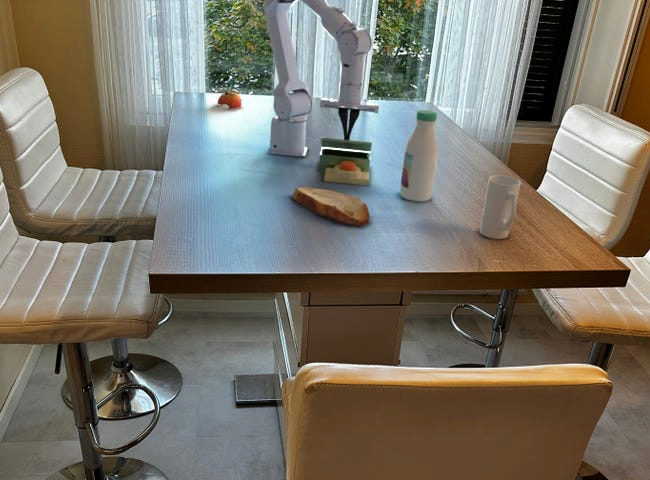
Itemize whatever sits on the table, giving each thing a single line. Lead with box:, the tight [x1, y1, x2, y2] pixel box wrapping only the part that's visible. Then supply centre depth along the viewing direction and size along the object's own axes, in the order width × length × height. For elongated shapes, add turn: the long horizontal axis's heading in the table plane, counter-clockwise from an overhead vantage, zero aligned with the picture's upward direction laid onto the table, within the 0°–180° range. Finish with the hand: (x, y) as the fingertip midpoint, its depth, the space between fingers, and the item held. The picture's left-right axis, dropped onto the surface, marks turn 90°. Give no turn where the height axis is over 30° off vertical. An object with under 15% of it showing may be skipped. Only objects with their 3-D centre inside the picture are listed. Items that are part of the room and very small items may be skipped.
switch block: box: [323, 165, 370, 186], centre depth 176 cm, size 11×7×3 cm, turn 88°
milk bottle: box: [399, 109, 439, 202], centre depth 165 cm, size 8×8×20 cm
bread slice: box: [291, 187, 370, 227], centre depth 156 cm, size 18×18×4 cm
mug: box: [479, 174, 522, 240], centre depth 149 cm, size 10×7×12 cm, turn 15°
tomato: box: [217, 90, 243, 110], centre depth 228 cm, size 8×7×7 cm
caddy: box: [318, 146, 371, 173], centre depth 183 cm, size 7×13×4 cm, turn 88°
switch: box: [340, 161, 355, 171], centre depth 174 cm, size 4×4×2 cm
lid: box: [320, 137, 373, 153], centre depth 180 cm, size 8×13×1 cm, turn 88°
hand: (346, 139), depth 179 cm, fingers closed
